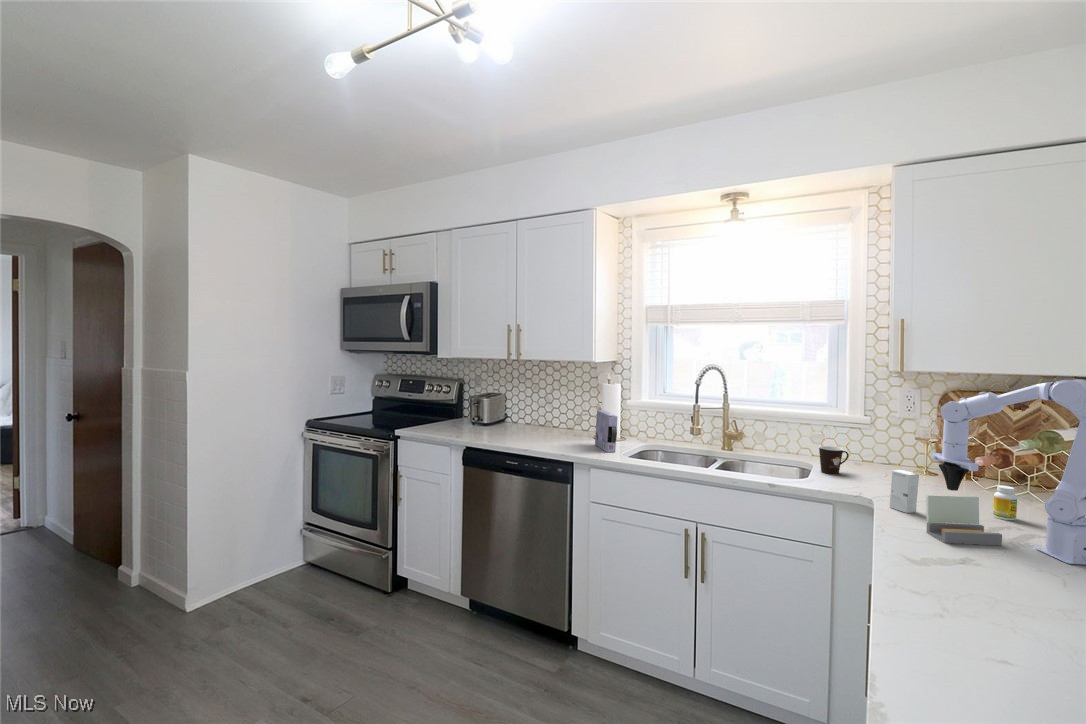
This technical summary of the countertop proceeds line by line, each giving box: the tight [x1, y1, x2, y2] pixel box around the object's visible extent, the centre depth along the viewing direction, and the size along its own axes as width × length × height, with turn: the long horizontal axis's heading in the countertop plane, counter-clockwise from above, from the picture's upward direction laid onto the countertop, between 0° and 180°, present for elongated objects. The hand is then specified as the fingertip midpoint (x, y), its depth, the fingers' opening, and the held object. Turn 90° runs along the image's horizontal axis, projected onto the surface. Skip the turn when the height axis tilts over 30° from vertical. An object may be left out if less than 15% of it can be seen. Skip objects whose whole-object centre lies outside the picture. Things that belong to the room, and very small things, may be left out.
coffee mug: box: [818, 445, 849, 475], centre depth 214 cm, size 12×9×10 cm
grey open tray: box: [926, 521, 1003, 547], centre depth 141 cm, size 8×14×3 cm, turn 85°
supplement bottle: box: [992, 484, 1018, 521], centre depth 160 cm, size 5×5×10 cm
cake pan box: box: [594, 409, 618, 453], centre depth 253 cm, size 19×5×18 cm, turn 12°
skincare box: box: [889, 469, 920, 514], centre depth 166 cm, size 6×4×12 cm
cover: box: [925, 494, 980, 525], centre depth 146 cm, size 7×13×1 cm
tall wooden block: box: [941, 529, 983, 534], centre depth 141 cm, size 2×10×2 cm, turn 85°
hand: (952, 489), depth 151 cm, fingers closed
